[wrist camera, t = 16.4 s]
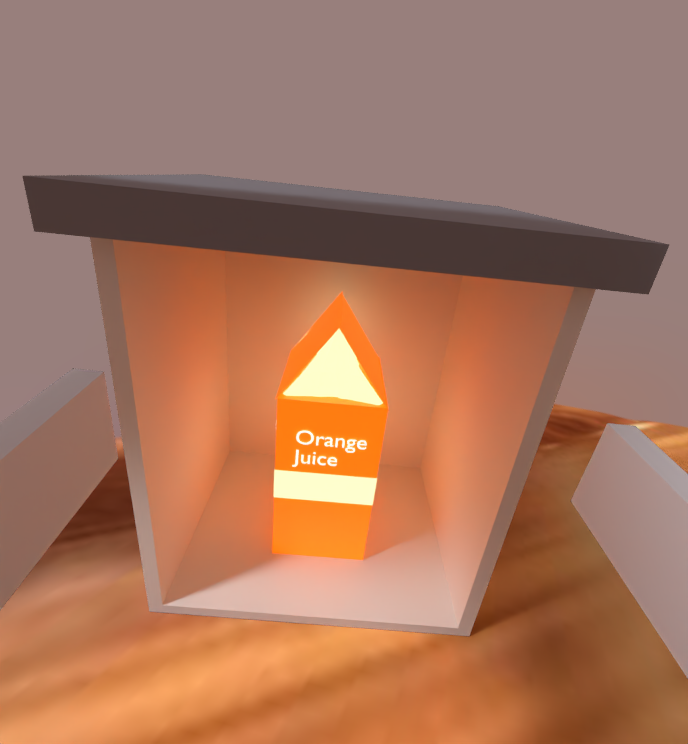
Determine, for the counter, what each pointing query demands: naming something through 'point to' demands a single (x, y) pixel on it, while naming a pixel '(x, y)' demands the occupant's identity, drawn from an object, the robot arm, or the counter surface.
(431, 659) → the counter surface
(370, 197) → the under-counter cabinet
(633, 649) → the counter surface
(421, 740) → the counter surface
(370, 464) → the orange juice
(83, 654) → the counter surface
